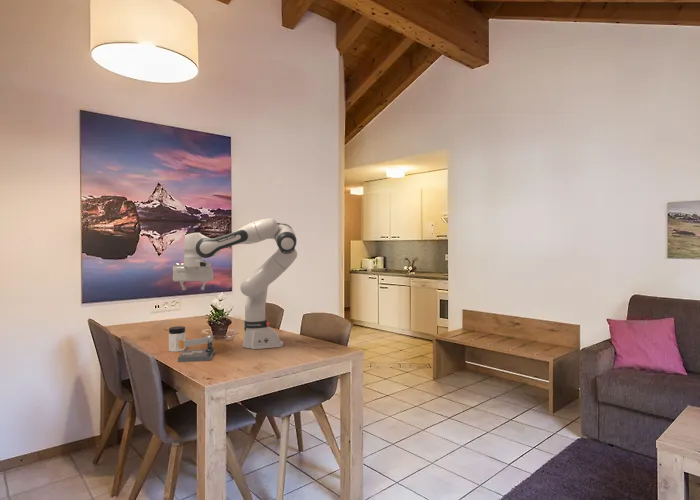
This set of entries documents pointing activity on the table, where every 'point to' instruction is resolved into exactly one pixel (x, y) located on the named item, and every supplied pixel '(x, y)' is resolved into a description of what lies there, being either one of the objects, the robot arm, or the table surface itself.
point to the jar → (176, 338)
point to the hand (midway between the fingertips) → (193, 289)
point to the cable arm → (195, 341)
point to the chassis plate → (197, 354)
